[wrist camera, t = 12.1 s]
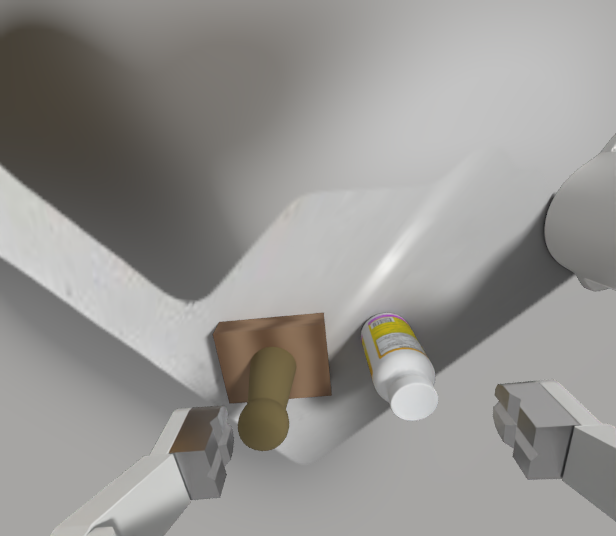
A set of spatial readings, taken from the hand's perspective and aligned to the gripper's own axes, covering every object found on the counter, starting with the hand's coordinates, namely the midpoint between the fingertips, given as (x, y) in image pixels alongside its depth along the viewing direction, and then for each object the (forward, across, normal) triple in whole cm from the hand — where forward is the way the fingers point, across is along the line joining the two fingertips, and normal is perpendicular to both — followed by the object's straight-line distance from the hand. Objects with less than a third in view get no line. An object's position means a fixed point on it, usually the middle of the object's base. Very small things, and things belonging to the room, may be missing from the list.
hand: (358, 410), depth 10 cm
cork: (+26, +9, +18) cm, 33 cm away
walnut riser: (+29, +9, +18) cm, 35 cm away
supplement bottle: (+30, -6, +17) cm, 35 cm away
